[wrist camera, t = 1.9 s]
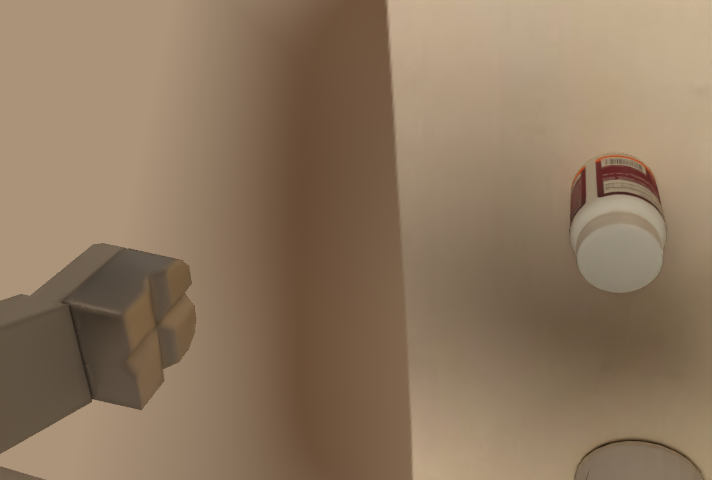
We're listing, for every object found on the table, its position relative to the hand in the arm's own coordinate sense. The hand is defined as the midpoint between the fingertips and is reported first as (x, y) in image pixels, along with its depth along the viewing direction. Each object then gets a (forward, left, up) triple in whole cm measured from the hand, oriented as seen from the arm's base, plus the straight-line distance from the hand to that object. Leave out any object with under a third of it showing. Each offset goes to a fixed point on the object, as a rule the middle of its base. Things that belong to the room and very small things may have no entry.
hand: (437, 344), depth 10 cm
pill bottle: (+6, -11, -31) cm, 34 cm away
